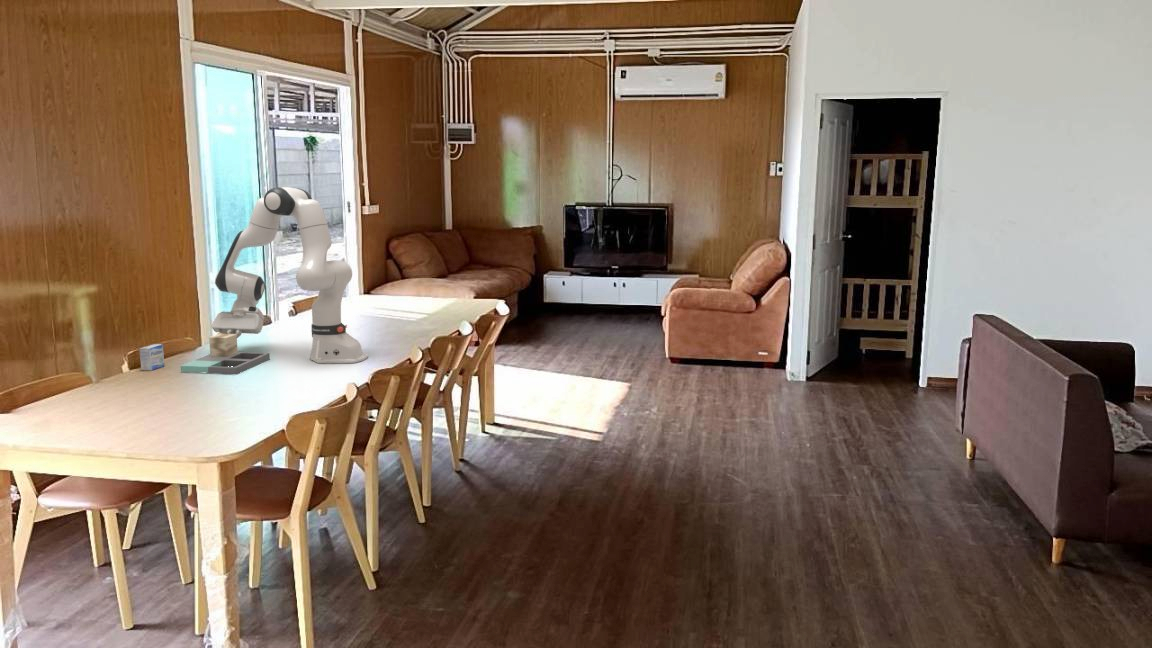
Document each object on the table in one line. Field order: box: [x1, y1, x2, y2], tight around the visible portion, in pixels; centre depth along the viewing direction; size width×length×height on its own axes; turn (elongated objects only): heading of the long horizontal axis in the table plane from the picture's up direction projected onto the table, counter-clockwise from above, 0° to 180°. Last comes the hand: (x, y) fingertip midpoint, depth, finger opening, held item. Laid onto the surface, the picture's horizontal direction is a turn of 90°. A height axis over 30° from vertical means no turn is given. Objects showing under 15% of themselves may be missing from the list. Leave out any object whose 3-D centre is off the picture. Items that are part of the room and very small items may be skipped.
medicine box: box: [139, 343, 166, 372], centre depth 336 cm, size 8×4×9 cm, turn 168°
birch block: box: [208, 332, 239, 357], centre depth 350 cm, size 7×8×8 cm
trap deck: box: [180, 351, 271, 375], centre depth 342 cm, size 22×26×2 cm
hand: (231, 340), depth 355 cm, fingers closed
